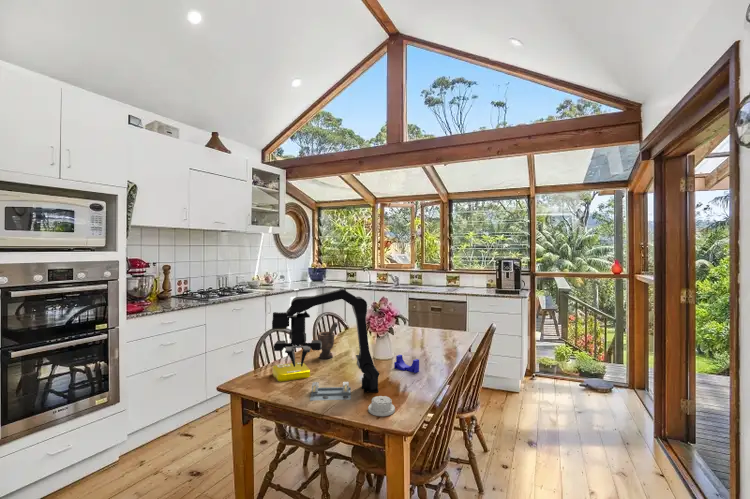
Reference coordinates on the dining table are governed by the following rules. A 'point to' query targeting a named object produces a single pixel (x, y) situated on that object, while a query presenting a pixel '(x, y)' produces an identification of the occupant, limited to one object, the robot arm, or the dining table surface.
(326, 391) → the board
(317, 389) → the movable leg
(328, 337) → the mortar and pestle
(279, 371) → the element tile
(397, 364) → the blue u-shaped bracket
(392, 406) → the mechanical component
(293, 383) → the dining table surface
